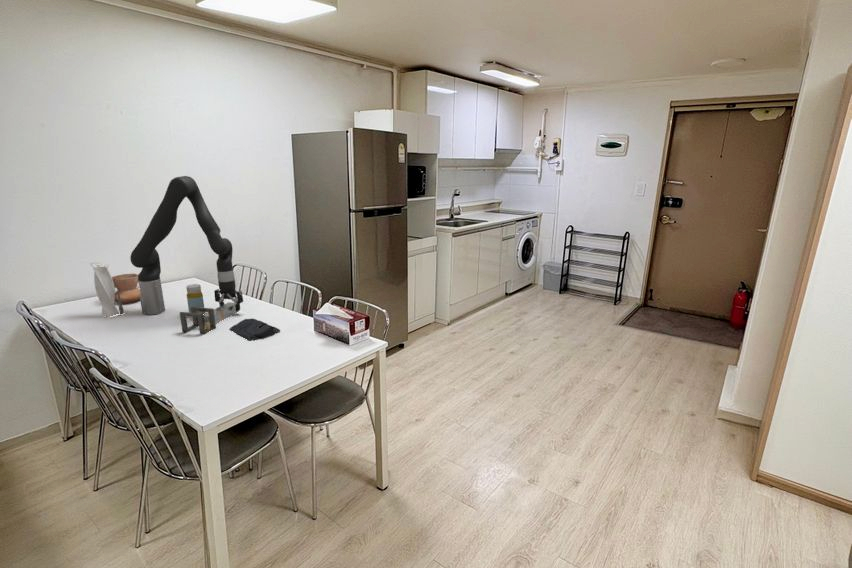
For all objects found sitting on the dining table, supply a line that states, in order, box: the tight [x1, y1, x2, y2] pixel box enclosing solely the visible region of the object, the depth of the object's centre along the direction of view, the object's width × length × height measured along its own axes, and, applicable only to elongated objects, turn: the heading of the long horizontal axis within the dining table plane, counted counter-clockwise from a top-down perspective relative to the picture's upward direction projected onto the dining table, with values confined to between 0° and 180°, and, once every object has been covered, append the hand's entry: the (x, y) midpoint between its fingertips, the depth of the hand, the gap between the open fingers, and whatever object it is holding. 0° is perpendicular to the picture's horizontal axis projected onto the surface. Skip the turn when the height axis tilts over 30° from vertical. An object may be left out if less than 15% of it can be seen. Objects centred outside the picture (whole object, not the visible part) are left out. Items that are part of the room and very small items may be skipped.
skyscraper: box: [89, 261, 125, 318], centre depth 213 cm, size 8×8×28 cm
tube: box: [203, 301, 239, 325], centre depth 214 cm, size 20×5×5 cm, turn 168°
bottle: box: [186, 283, 206, 314], centre depth 217 cm, size 7×7×15 cm
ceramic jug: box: [111, 272, 141, 304], centre depth 235 cm, size 18×14×14 cm
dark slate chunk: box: [229, 317, 281, 342], centre depth 199 cm, size 15×22×5 cm
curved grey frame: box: [179, 307, 217, 335], centre depth 199 cm, size 11×8×10 cm
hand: (230, 310), depth 220 cm, fingers open, 8 cm apart
